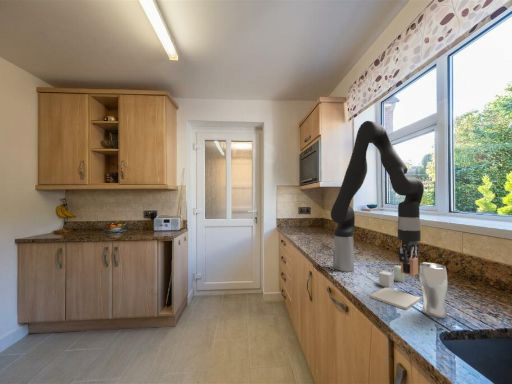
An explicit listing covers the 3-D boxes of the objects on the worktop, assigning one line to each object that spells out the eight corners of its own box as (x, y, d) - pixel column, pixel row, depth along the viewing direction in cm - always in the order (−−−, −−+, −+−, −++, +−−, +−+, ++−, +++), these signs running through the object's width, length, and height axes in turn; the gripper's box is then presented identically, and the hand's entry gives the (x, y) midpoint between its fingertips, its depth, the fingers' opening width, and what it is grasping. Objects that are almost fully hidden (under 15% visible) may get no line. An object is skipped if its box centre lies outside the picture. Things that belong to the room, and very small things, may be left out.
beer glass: (415, 308, 74) (413, 262, 75) (435, 307, 75) (433, 262, 75) (433, 319, 67) (431, 269, 68) (455, 318, 68) (452, 268, 68)
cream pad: (370, 297, 83) (369, 295, 83) (385, 289, 90) (385, 287, 90) (406, 310, 73) (406, 307, 73) (420, 299, 80) (420, 297, 80)
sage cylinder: (392, 280, 100) (392, 266, 100) (396, 278, 102) (396, 264, 102) (402, 282, 97) (402, 268, 97) (406, 280, 99) (406, 266, 99)
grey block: (379, 284, 95) (378, 272, 95) (383, 282, 97) (383, 270, 97) (389, 287, 92) (388, 275, 92) (393, 285, 94) (393, 273, 94)
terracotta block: (400, 272, 89) (400, 257, 89) (405, 270, 91) (405, 255, 91) (413, 276, 85) (413, 260, 85) (418, 273, 88) (418, 258, 88)
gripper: (406, 225, 95) (406, 266, 95) (389, 228, 87) (390, 272, 87) (427, 227, 89) (427, 271, 89) (411, 231, 81) (412, 278, 81)
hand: (409, 271), depth 88 cm, fingers closed on terracotta block, 4 cm apart
